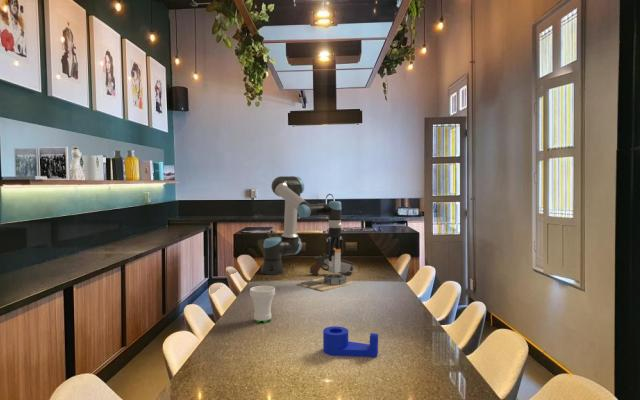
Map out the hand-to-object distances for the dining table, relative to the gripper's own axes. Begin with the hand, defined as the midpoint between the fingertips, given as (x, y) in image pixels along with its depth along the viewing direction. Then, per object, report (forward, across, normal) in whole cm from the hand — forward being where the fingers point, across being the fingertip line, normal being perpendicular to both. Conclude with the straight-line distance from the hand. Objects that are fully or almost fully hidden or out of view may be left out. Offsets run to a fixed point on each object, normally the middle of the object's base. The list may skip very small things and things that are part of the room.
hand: (334, 265), depth 256 cm
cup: (+10, -72, -24) cm, 77 cm away
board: (+11, -5, +2) cm, 12 cm away
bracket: (+10, -71, -75) cm, 104 cm away
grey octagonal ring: (+10, 0, 0) cm, 10 cm away
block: (+4, 0, 0) cm, 4 cm away
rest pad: (+10, -12, +8) cm, 17 cm away
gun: (+11, +16, +17) cm, 26 cm away
